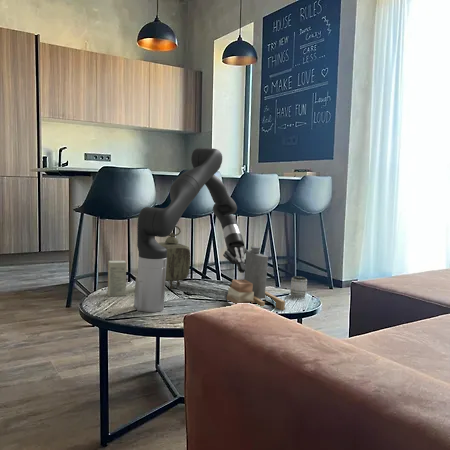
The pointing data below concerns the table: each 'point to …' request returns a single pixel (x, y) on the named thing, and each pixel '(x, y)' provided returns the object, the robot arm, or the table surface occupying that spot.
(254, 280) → the hip flask
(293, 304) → the table surface
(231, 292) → the offcut ash
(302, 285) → the camera lens
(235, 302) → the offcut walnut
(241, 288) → the offcut cherry
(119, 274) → the skincare box
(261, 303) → the slot rack
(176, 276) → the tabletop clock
